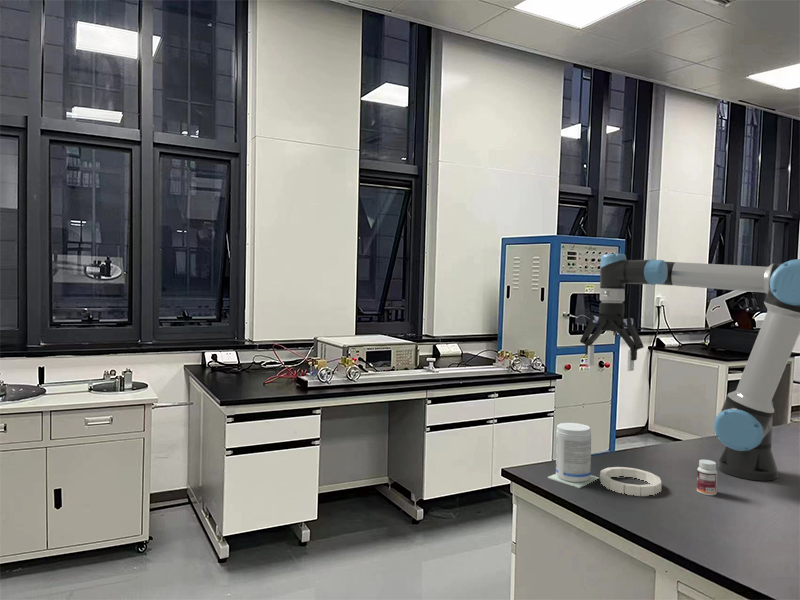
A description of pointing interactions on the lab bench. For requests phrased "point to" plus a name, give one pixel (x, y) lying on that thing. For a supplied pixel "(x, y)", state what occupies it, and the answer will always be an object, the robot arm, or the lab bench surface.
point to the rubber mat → (575, 484)
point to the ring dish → (630, 488)
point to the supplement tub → (573, 452)
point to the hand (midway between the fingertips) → (610, 368)
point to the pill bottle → (707, 477)
